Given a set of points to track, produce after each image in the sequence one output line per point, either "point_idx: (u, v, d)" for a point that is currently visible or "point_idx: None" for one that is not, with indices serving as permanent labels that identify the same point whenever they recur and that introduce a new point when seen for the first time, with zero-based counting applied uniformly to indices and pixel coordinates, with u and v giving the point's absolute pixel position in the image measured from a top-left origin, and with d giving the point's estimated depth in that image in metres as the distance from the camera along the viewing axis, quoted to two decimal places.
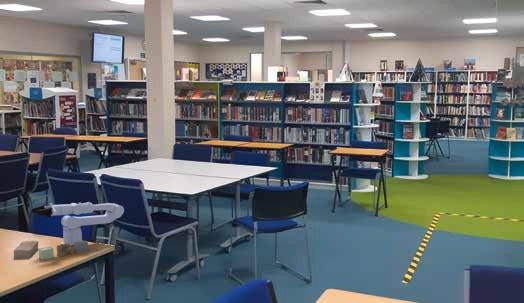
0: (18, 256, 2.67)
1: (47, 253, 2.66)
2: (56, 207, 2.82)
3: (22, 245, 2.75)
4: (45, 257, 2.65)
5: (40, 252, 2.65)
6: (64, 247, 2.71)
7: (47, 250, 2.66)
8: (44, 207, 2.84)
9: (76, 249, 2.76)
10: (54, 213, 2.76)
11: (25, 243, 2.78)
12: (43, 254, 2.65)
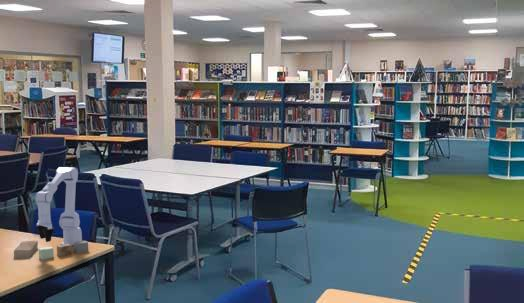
0: (18, 256, 2.67)
1: (47, 253, 2.66)
2: (42, 220, 2.62)
3: (22, 245, 2.75)
4: (45, 257, 2.65)
5: (40, 252, 2.65)
6: (64, 247, 2.71)
7: (47, 250, 2.66)
8: (39, 225, 2.68)
9: (76, 249, 2.76)
10: (50, 227, 2.60)
11: (25, 243, 2.78)
12: (43, 254, 2.65)
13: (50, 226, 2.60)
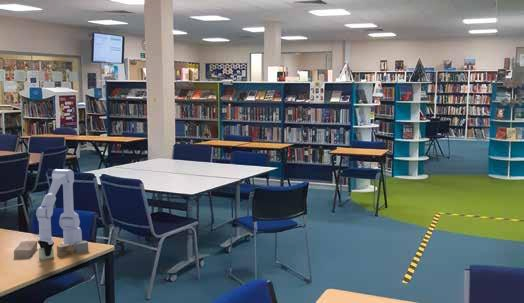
0: (18, 256, 2.67)
1: None
2: (43, 235, 2.63)
3: (21, 245, 2.75)
4: (45, 257, 2.65)
5: (40, 252, 2.65)
6: (64, 247, 2.71)
7: None
8: (41, 240, 2.68)
9: (76, 249, 2.76)
10: (51, 242, 2.61)
11: (24, 243, 2.78)
12: (43, 254, 2.65)
13: (51, 241, 2.61)
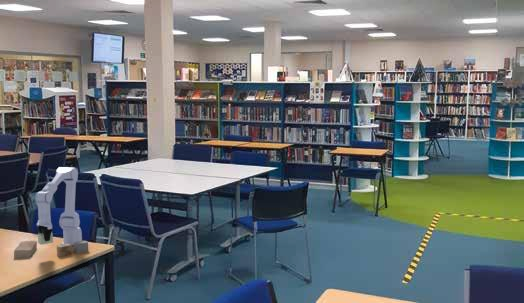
0: (18, 256, 2.67)
1: None
2: (42, 220, 2.62)
3: (21, 245, 2.75)
4: (45, 242, 2.64)
5: (39, 237, 2.64)
6: (64, 247, 2.71)
7: None
8: (40, 226, 2.67)
9: (76, 249, 2.76)
10: (50, 227, 2.60)
11: (24, 243, 2.78)
12: (42, 239, 2.64)
13: (50, 226, 2.60)
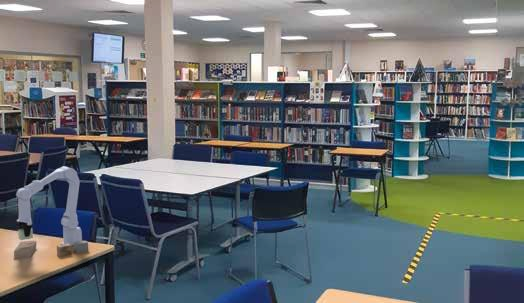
0: (19, 256, 2.67)
1: None
2: (22, 216, 2.70)
3: (21, 245, 2.75)
4: (25, 238, 2.72)
5: (19, 233, 2.71)
6: (64, 247, 2.71)
7: None
8: (21, 222, 2.74)
9: (76, 249, 2.76)
10: (30, 223, 2.68)
11: (24, 243, 2.78)
12: (22, 235, 2.71)
13: (30, 222, 2.68)
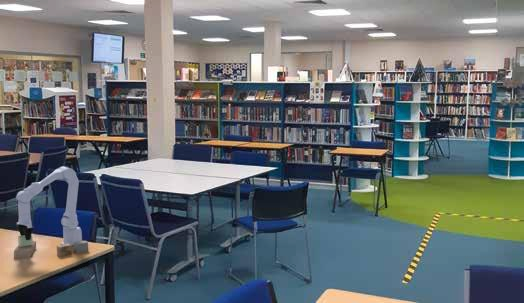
0: (18, 256, 2.67)
1: (26, 240, 2.73)
2: (22, 219, 2.70)
3: None
4: (24, 245, 2.73)
5: (19, 239, 2.72)
6: (64, 247, 2.71)
7: None
8: (20, 224, 2.76)
9: (76, 249, 2.76)
10: (30, 226, 2.68)
11: None
12: (22, 241, 2.72)
13: (30, 225, 2.68)
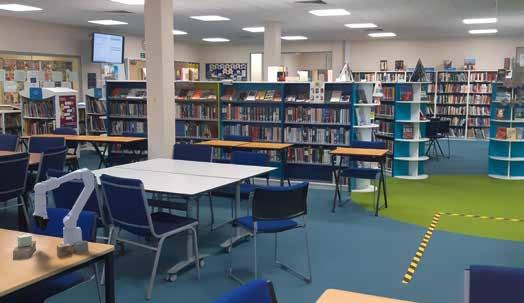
0: (17, 256, 2.67)
1: (25, 240, 2.72)
2: (38, 210, 2.79)
3: None
4: (23, 245, 2.72)
5: (18, 239, 2.72)
6: (64, 247, 2.71)
7: (25, 238, 2.73)
8: (35, 215, 2.85)
9: (76, 249, 2.76)
10: (46, 217, 2.77)
11: None
12: (21, 241, 2.71)
13: (45, 216, 2.77)
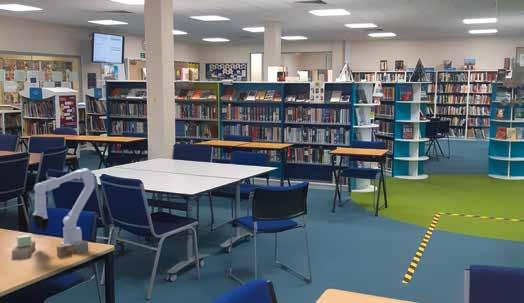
0: (16, 256, 2.67)
1: (24, 241, 2.72)
2: (38, 210, 2.79)
3: None
4: (23, 245, 2.72)
5: (18, 240, 2.72)
6: (64, 247, 2.71)
7: (24, 238, 2.72)
8: (35, 215, 2.85)
9: (76, 249, 2.76)
10: (46, 217, 2.77)
11: None
12: (20, 241, 2.71)
13: (45, 216, 2.77)
